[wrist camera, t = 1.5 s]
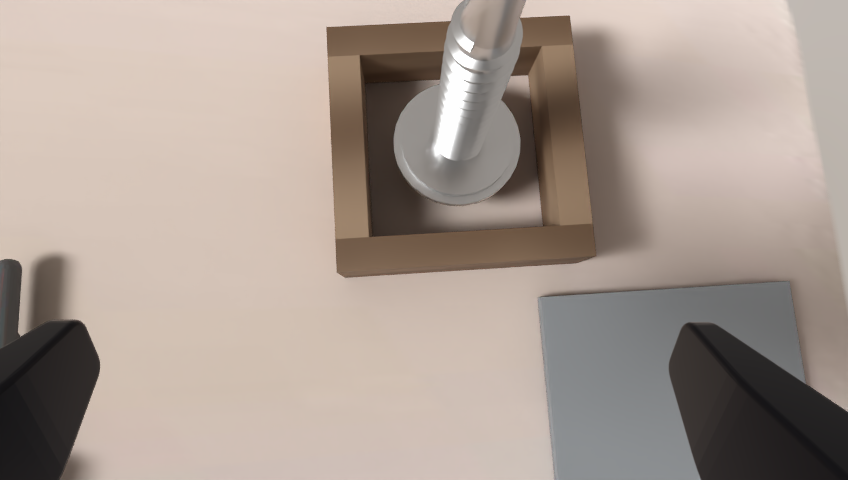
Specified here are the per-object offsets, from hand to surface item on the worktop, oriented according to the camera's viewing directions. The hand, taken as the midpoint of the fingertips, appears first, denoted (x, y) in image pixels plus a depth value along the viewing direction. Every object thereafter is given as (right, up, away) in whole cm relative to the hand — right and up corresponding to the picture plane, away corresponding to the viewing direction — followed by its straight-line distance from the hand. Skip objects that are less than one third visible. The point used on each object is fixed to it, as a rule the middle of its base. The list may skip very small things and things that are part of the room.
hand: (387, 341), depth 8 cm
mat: (+10, -5, +13) cm, 18 cm away
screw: (+2, +5, +15) cm, 16 cm away
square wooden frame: (+2, +5, +15) cm, 16 cm away
